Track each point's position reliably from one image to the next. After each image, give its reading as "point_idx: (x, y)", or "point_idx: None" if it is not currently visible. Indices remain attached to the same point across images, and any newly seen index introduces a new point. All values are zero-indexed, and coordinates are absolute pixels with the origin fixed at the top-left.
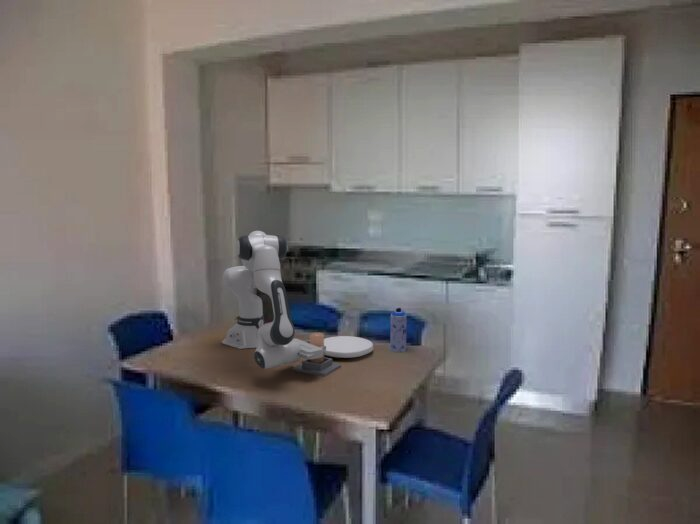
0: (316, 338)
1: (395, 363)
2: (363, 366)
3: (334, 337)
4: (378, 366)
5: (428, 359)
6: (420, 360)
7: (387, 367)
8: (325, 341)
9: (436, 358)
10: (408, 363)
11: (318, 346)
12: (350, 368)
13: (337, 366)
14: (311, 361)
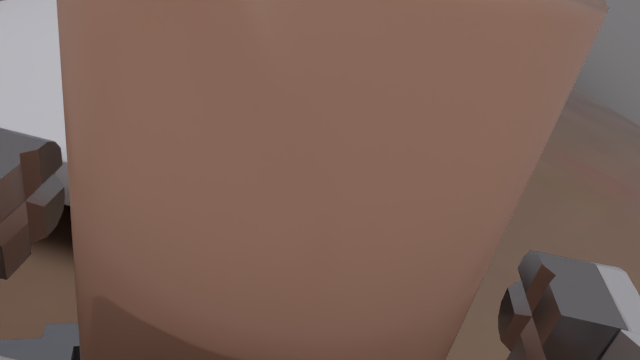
0: (542, 114)
1: (557, 159)
2: (507, 251)
3: (44, 5)
4: (560, 216)
5: (575, 100)
6: (572, 112)
7: (604, 210)
8: (12, 50)
9: (578, 90)
10: (588, 144)
11: (457, 330)
12: (493, 325)
13: None
14: None
